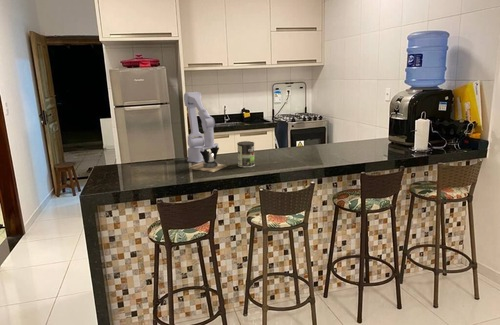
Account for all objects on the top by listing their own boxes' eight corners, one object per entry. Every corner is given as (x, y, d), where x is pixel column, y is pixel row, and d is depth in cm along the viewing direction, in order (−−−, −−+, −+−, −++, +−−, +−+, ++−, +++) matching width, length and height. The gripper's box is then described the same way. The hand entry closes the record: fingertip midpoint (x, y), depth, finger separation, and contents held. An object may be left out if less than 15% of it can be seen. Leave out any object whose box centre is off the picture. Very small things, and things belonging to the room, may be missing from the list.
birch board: (189, 168, 221) (188, 166, 221) (203, 162, 233) (203, 161, 233) (212, 172, 212) (212, 170, 212) (226, 166, 223) (226, 164, 223)
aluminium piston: (205, 166, 221) (204, 153, 218) (210, 164, 224) (209, 152, 222) (210, 167, 218) (210, 154, 216) (215, 165, 222) (215, 153, 219)
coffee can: (257, 164, 227) (257, 142, 223) (249, 168, 218) (248, 145, 215) (243, 162, 232) (243, 140, 228) (234, 166, 224) (233, 143, 220)
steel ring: (200, 167, 220) (200, 163, 219) (209, 163, 227) (209, 159, 226) (211, 168, 215) (211, 164, 215) (220, 165, 222) (220, 161, 222)
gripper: (206, 141, 209) (207, 164, 212) (221, 136, 220) (222, 158, 224) (197, 140, 212) (198, 162, 216) (212, 135, 224) (213, 157, 228)
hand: (210, 160), depth 220 cm, fingers open, 7 cm apart
